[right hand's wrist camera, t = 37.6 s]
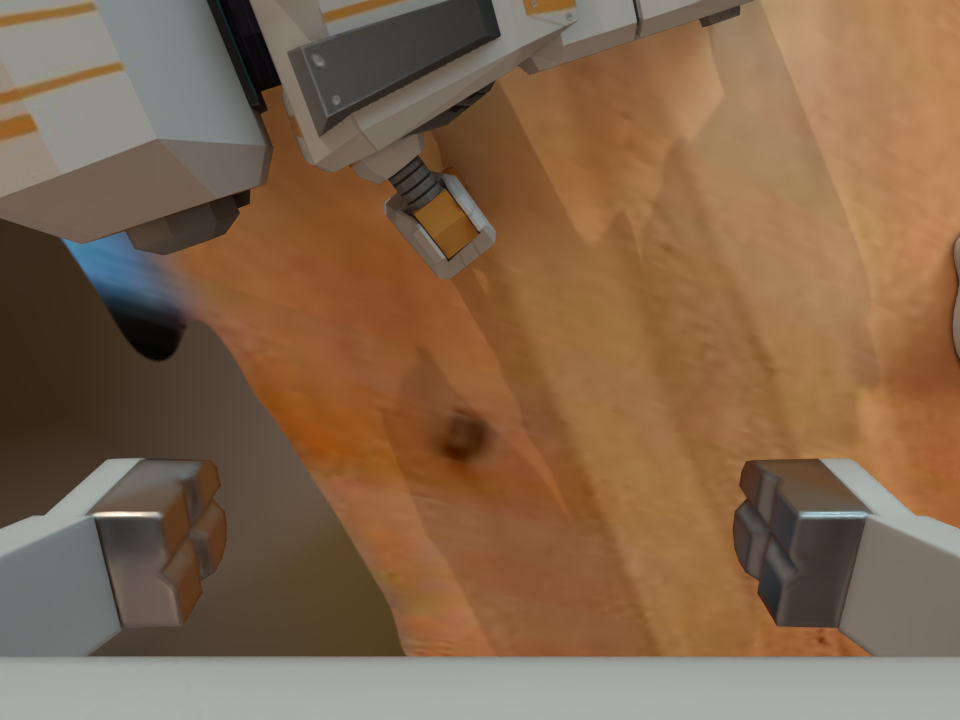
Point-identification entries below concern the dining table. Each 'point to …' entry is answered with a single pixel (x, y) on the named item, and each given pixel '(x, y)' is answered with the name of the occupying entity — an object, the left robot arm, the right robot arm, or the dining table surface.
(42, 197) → the robot
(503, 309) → the dining table surface
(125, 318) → the dining table surface
